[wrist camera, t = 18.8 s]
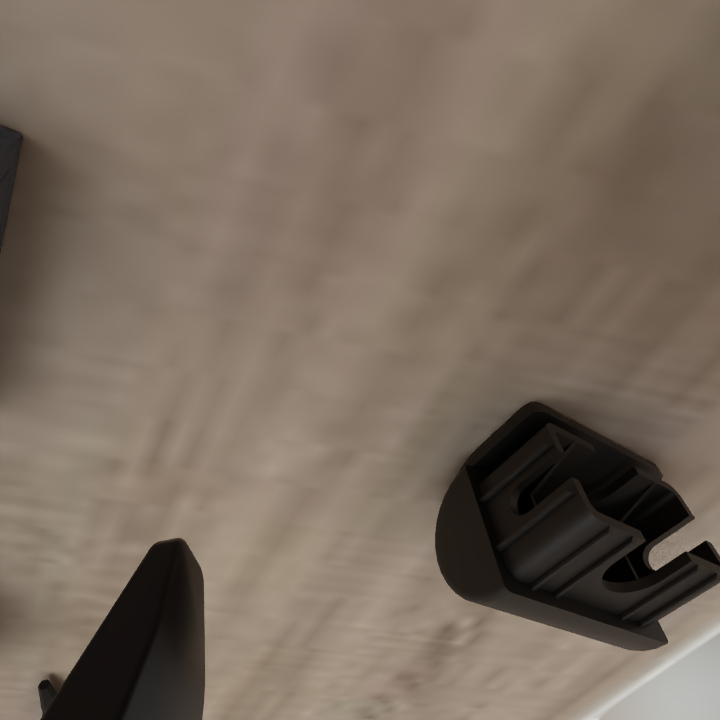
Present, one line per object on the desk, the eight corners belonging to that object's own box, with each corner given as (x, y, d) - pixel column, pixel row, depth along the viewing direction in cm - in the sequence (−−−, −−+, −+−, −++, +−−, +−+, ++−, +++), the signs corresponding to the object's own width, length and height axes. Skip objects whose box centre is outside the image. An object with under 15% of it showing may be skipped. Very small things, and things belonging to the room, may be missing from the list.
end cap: (417, 492, 29) (450, 631, 24) (523, 392, 26) (589, 528, 20) (560, 548, 33) (615, 676, 28) (666, 469, 30) (751, 597, 25)
